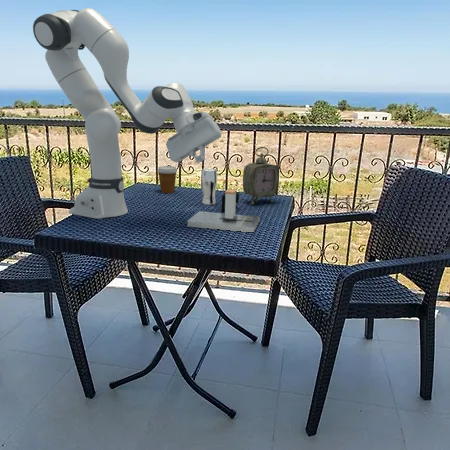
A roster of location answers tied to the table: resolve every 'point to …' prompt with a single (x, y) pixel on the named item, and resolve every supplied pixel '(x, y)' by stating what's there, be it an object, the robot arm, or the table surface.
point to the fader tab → (230, 205)
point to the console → (224, 222)
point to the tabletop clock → (260, 178)
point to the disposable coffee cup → (167, 178)
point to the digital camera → (224, 201)
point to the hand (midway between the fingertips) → (201, 161)
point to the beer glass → (209, 185)
